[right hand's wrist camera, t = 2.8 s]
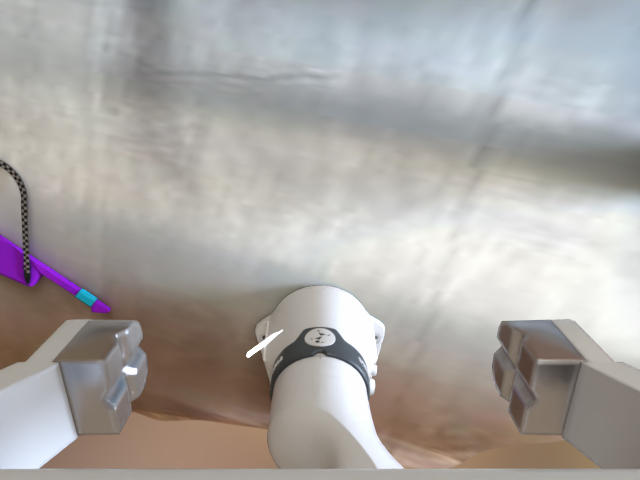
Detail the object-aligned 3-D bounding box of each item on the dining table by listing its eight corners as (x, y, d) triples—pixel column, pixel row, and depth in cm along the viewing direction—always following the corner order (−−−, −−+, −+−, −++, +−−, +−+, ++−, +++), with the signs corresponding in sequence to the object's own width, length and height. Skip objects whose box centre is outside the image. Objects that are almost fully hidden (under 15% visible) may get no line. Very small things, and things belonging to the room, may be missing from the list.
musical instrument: (-79, 142, 57) (-73, 290, 62) (-92, 143, 55) (-85, 296, 60) (120, 173, 60) (111, 311, 65) (115, 175, 58) (106, 317, 63)
